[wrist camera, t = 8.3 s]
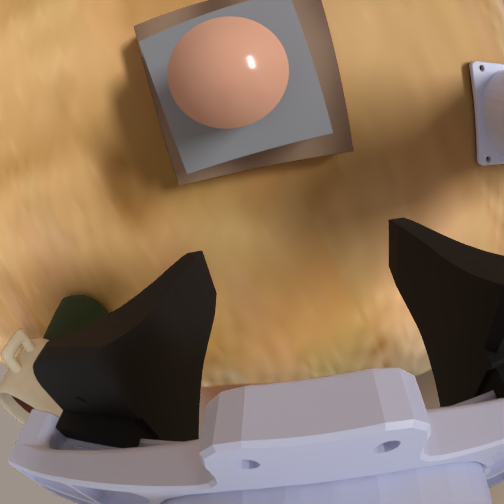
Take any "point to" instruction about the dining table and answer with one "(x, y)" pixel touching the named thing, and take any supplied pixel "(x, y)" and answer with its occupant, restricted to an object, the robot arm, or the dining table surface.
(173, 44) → the top slab
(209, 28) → the egg
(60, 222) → the dining table surface
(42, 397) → the character mug
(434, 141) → the dining table surface
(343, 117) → the base slab
